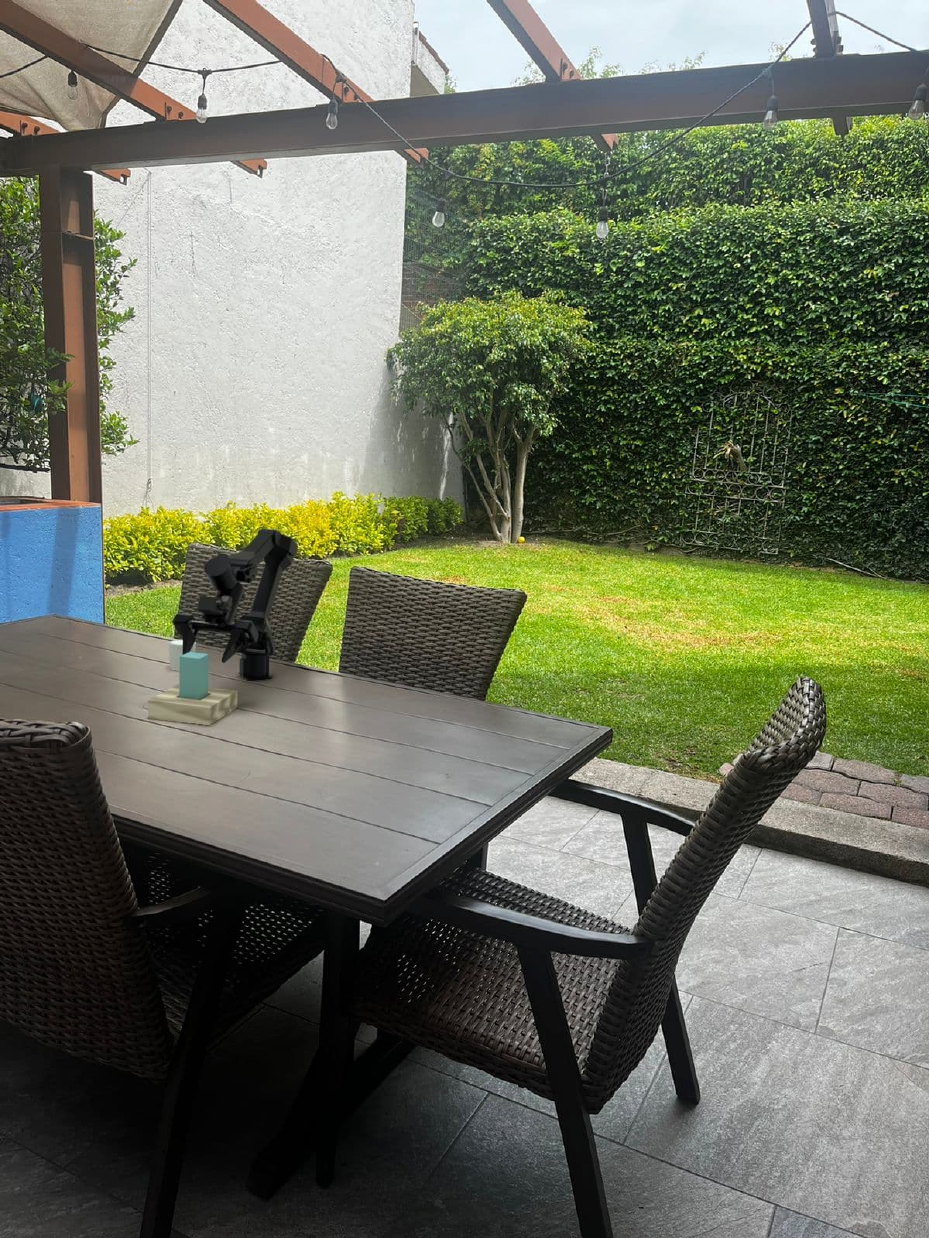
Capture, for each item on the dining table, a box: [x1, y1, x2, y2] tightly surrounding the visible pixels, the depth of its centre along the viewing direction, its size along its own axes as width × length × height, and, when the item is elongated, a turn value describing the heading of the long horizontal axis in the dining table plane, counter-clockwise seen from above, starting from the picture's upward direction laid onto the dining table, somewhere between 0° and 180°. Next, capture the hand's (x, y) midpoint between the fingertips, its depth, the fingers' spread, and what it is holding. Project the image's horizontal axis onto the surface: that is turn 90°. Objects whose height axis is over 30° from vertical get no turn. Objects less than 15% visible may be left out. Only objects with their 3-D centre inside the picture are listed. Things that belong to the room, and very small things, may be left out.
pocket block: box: [147, 684, 238, 726], centre depth 200 cm, size 14×14×4 cm
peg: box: [178, 652, 210, 700], centre depth 199 cm, size 4×4×13 cm
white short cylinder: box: [167, 639, 197, 672], centre depth 235 cm, size 7×7×7 cm
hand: (203, 659), depth 202 cm, fingers open, 9 cm apart
